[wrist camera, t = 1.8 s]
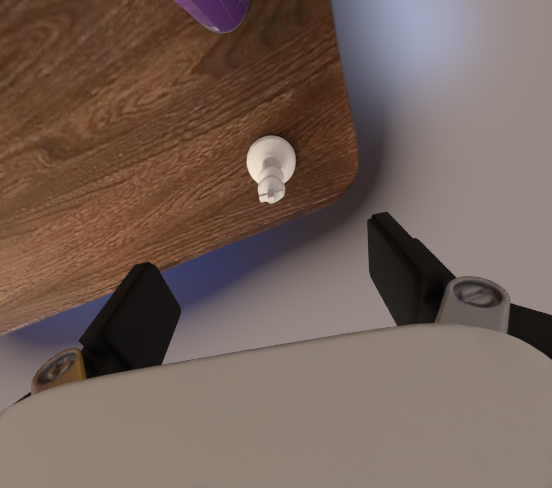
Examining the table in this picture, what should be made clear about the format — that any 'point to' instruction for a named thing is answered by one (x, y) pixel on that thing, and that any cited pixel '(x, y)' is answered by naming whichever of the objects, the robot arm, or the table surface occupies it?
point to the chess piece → (271, 166)
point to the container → (217, 13)
